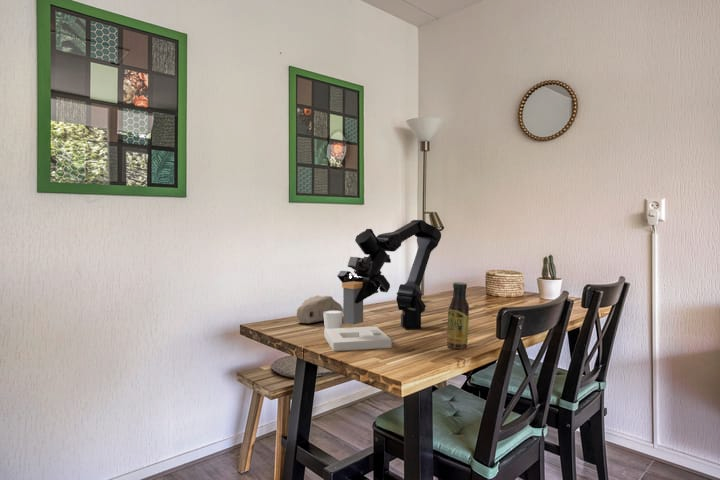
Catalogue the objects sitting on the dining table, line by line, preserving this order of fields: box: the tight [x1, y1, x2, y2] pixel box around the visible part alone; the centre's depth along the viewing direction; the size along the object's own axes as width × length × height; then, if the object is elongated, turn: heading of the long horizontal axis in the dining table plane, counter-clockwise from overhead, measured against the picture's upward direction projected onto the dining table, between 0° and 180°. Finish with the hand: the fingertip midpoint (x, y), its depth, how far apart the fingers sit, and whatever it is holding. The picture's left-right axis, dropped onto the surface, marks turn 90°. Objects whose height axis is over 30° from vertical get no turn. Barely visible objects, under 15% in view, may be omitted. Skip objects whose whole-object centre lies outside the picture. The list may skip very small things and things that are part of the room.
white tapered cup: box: [323, 310, 343, 329], centre depth 158 cm, size 7×7×7 cm
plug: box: [341, 281, 364, 325], centre depth 142 cm, size 5×5×12 cm
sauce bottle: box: [446, 281, 470, 350], centre depth 138 cm, size 7×6×20 cm
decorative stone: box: [295, 295, 343, 324], centre depth 174 cm, size 20×8×10 cm, turn 133°
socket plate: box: [323, 326, 392, 352], centre depth 144 cm, size 18×18×3 cm
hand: (350, 301), depth 141 cm, fingers closed on plug, 4 cm apart
